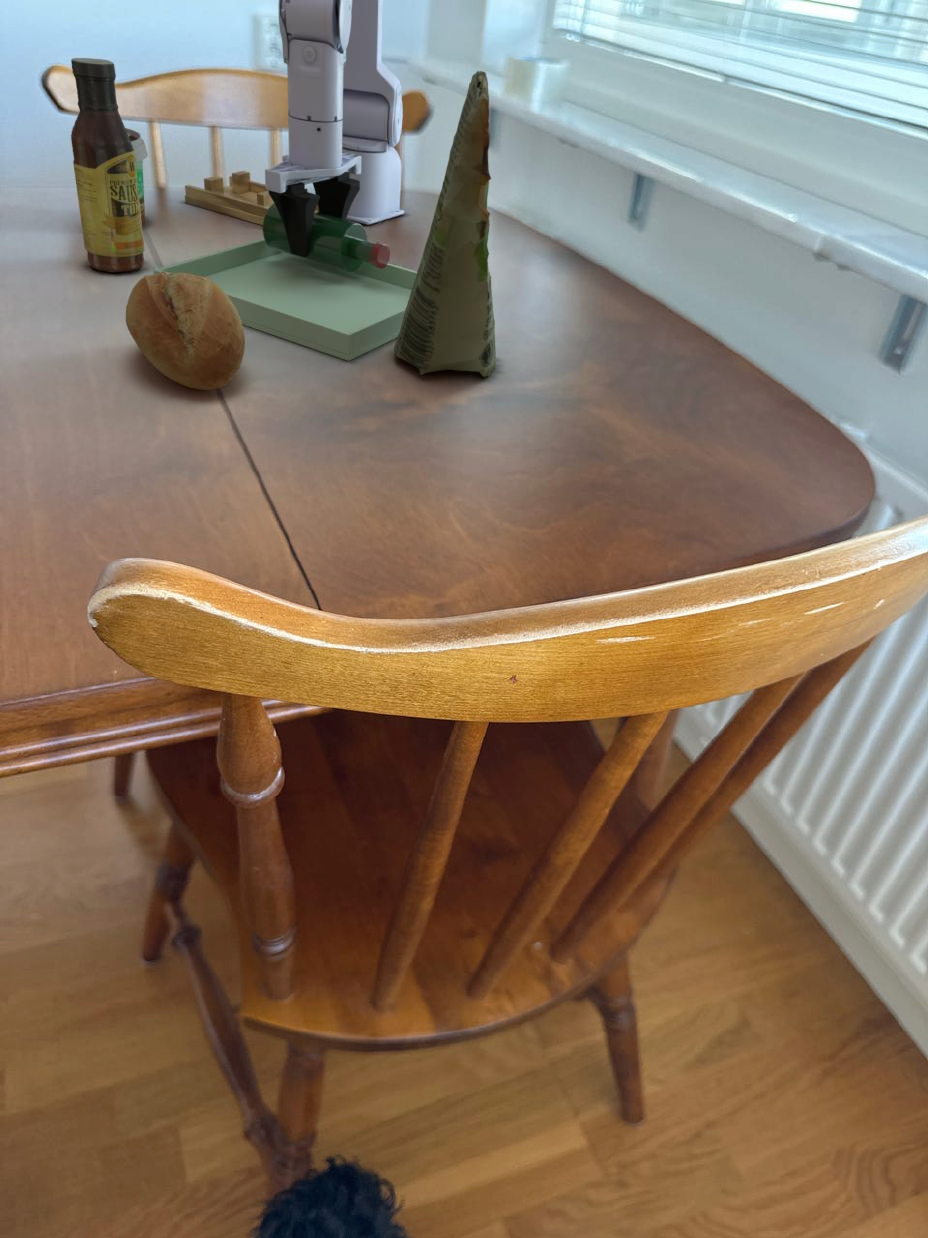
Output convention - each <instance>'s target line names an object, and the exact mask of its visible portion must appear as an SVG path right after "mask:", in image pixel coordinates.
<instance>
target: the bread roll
mask: <svg viewBox="0 0 928 1238" xmlns="http://www.w3.org/2000/svg"><path fill="white" fill-rule="evenodd" d="M125 308H126V309H125V324H126V327H127V330H128V332H129V335H131V337H132V339H133V341H134V342H135V344H136V345H137V347H138V349H139V350H140V352H141V353H142V355H144V357H145V358H146V359H147V360H148V361H149V362H150V364H151V365H152V366H153V367H154V368H155V369H156V370H157V371H158V372H159V373H161V374H162V375H163V376H165V377H167V378H169V379H170V380H172V381H174V382H175V383H177V384H179V385H180V384H181V385H182V386H185V387H187V388H189V389H194V390H201V391H211V390H218V389H221V388H224V387H225V386H226V385H228V384H230V382H231V381H232V380H233V378H234V377H235V376H236V374H237V373H238V371H239V369H240V367H241V364H242V361H243V358H244V354H245V348H246V336H245V329H244V325H243V324H242V321H241V319H240V316H239V314H238V311H237V309H236V308H235V306H234V305H233V303H232V302H231V300H230V299H229V297H228V296H227V295H226V293H225V292H224V291H223V290H222V289H221V288H220V287H219V286H218V285H217V284H216V283H215V282H213V281H212V280H211V279H210V278H207V277H201V276H198V275H194V274H188V273H175V274H174V273H170V274H169V275H167V274H166V272H164V271H163V272H160V273H157V274H154V273H153V274H151V275H144V276H143V277H142V278H140V279H139V280H138V281H137V282H136V284H135V285H133V287H132V289H131V292H130V294H129V296H128V299H127V303H126V307H125Z"/></svg>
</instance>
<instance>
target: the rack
mask: <svg viewBox="0 0 928 1238" xmlns="http://www.w3.org/2000/svg"><path fill="white" fill-rule="evenodd" d="M228 179H229V180H228V181H229V185H226V186H224V178H223V177H221V176H217V175H215V176H211V177H210V176H209V177H206V178H203V185H204V186H203V187H204V188H202V187H199V186H196V185H192V184H185V185H184V190H185V192H184V193H185V194H184V203H185V204H188V205H192V206H196V207H199V208H202V209H204V210H205V209H206V210H209V211H212V212H215V213H219V214H223V215H226V216H229V217H232V218H237V219H239V220H243V221H247V222H250V223H254V224H257V225H260V226H263V221H264V217H265V214H266V212H267V210H268V209H269V207H270V206H271V205H272V204H274V202H273V200H272V198H271V197H270V195H269V190H267V189H266V188H265V184H264V183H261V182H257V181H253V180H251V173H250V171H246V170H241V171H236V172H232V173H231V175H230V176H229V177H228ZM315 212H319V209H318V203H317V206H316V209H315Z"/></svg>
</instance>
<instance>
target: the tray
mask: <svg viewBox="0 0 928 1238" xmlns="http://www.w3.org/2000/svg"><path fill="white" fill-rule="evenodd" d="M163 271H164V272H166V274H167V275H169V274H170V273H174V274H175V273H188V274H194V275H198V276H201V277H207V278H210V279H211V280H212V281H213V282H215V283H216V284H217V285H218V286H219V287H220V288H221V289H222V290H223V291H224V292H225V293H226V295H227V296H228V297H229V299H230V300H231V302H232V303H233V305H234V306H235V308H236V309H237V311H238V314H239V316H240V319H241V321H242V325H243V326H246V327H249V328H252V329H255V330H258V331H261V332H263V333H265V334H269V335H272V336H275V337H278V338H281V339H284V340H286V341H290V342H292V343H294V344H298V345H301V346H304V347H307V348H310V349H312V350H315V351H318V352H322V353H324V354H327V355H330V356H333V357H336V358H338V359H341V360H344V361H347V362H349V361H352V360H354V359H355V358H358V357H360V356H362V355H364V354H366V353H368V352H370V351H372V350H374V349H376V348H379V347H381V346H383V345H385V344H387V343H389V342H391V341H393V340H396V339H397V338H398V334H399V332H400V329H401V325H402V321H403V317H404V313H405V310H406V307H407V304H408V301H409V297H410V294H411V291H412V288H413V284H414V281H415V278H416V275H417V271H418V270H417V271H416V270H414V269H410V268H406V267H404V266H400V265H396V264H392V263H389V262H388V264H387V265H386V267H385V268H383V269H379V268H376V267H373V266H372V265H371V264H369V263H366V262H362V264H361V266H360V267H359V268H358V269H357V270H355V271H354V272H347V271H344V270H340V269H337V268H334V267H331V266H327V265H324V264H321V263H317V262H314V261H311V260H308V259H304V258H301V257H298V256H295V255H291V254H288V253H285V252H281V251H278V250H275V249H272V248H270V247H269V246H268V245H267V243H266V242H265V239H264V237H262V238H260V239H256V240H253V241H249V242H245V243H242V244H238V245H236V246H232V247H227V248H225V249H221V250H217V251H214V252H210V253H207V254H204V255H201V256H197V257H194V258H189V259H186V260H182V261H180V262H176V263H172V264H169V265H166V266H162V267H158V268H155V269H153V271H152V272H153V275H154V274H157V273H160V272H163Z"/></svg>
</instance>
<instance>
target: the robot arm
mask: <svg viewBox="0 0 928 1238" xmlns="http://www.w3.org/2000/svg"><path fill="white" fill-rule="evenodd" d="M277 6H278V9H277V11H278V13H277V14H278V26H279V32H280V33H279V34H280V37H281V43H282V44H281V47H282V58H283V63H284V64H285V65H286V68H287V69H286V71H287V124H288V125H287V127H288V131H287V132H288V133H287V134H288V154H284V155H282V157H281V159H282V161H281V162H280V163H279V164H277V165H275V166H273V167H270V168H266V169H264V183H265V188H266V189H267V190H269V195H270V197H271V198H272V200H273V202H274V204H275V205H276V207H277V209H278V212H279V214H280V216H281V219H282V222H283V225H284V228H285V231H286V235H287V239H288V243H289V247H290V250H291V253H292V254H295V255H298V256H301V257H308V256H309V252H310V246H311V231H312V222H313V217H314V213H315V209H316V206H317V203H318V209H319V213H323V214H326V215H330V216H333V217H337V218H340V219H344V220H347V221H351V222H355V223H358V224H361V225H362V224H363V225H369V226H370V225H373V224H376V223H379V222H383V221H385V220H390V219H392V218H396V217H399V216H401V215H404V214H405V210H404V209H401V207H400V206H401V189H402V188H401V187H402V171H403V169H402V167H403V166H402V161H401V158H400V155H399V153H398V151H397V150H396V148H395V147H396V146H397V145H398V143H399V142H400V141H401V136H402V128H403V115H404V113H403V111H404V110H403V109H404V108H403V107H404V106H403V99H402V96H403V93H402V92H403V91H402V90H403V88H402V87H403V86H402V84H401V81H400V80H399V78H398V77H397V76H396V75H395V74H394V73H393V72H392V71H391V70H390V69H389V68H388V67H387V66H386V65H385V64H384V63H383V60H382V57H383V56H382V53H383V19H384V18H383V15H384V14H383V12H384V10H383V9H384V0H278V5H277ZM344 53H345V54H344ZM344 57H345V61H344ZM310 184H312V186H313V189H314V193H313V192H309V191H308V188H306V187H305V186H307V185H310Z"/></svg>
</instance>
